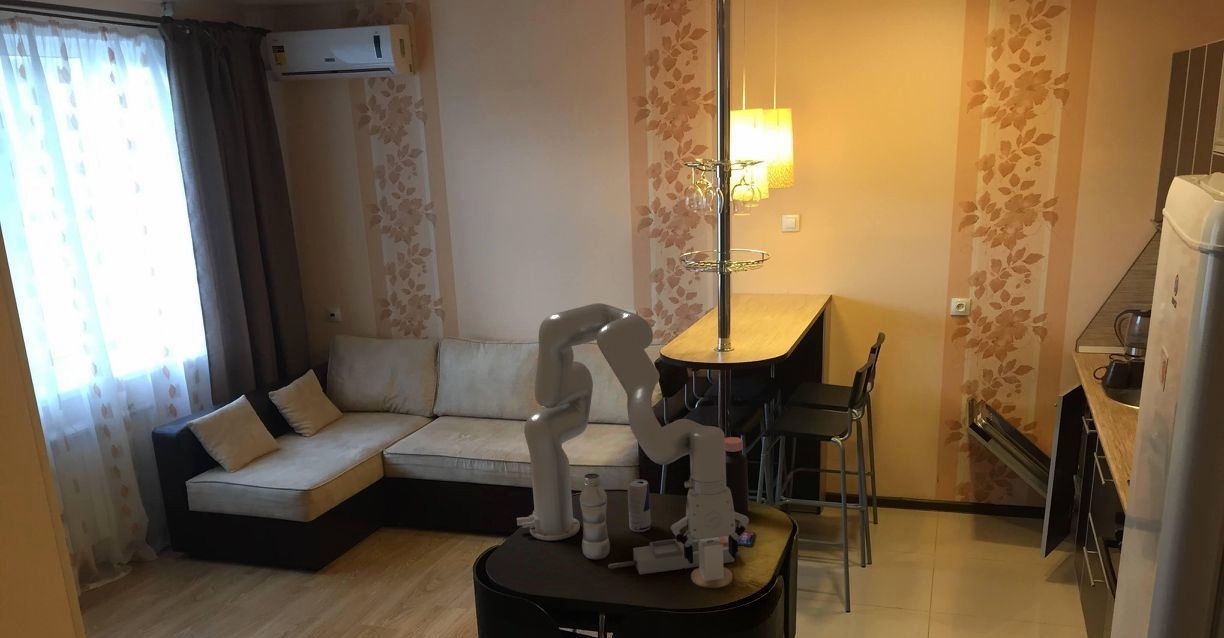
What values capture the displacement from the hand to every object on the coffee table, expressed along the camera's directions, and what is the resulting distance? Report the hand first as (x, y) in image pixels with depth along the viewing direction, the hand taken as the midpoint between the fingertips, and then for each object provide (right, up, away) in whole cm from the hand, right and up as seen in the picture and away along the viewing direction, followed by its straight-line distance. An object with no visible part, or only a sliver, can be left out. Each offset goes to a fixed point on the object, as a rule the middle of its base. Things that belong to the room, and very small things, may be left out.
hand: (711, 557), depth 183 cm
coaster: (0, -5, +1) cm, 5 cm away
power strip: (-8, -4, +8) cm, 12 cm away
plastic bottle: (-25, -4, +14) cm, 29 cm away
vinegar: (+10, +2, +32) cm, 34 cm away
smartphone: (+5, -1, +20) cm, 20 cm away
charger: (0, -4, +1) cm, 4 cm away
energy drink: (-14, -1, +27) cm, 31 cm away
